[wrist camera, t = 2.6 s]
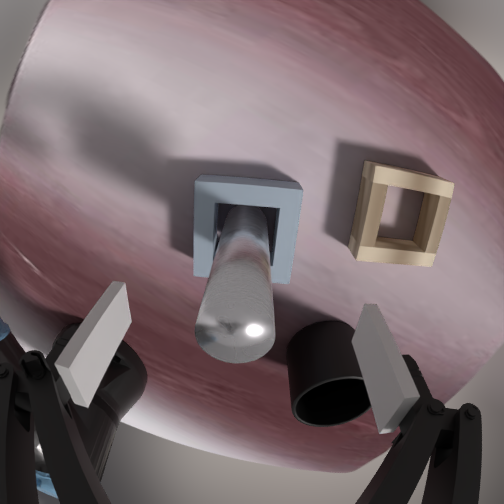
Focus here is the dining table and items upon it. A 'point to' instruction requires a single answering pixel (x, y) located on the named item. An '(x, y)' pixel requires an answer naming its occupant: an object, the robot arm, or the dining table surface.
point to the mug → (325, 376)
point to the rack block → (371, 208)
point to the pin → (239, 291)
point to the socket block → (254, 194)
